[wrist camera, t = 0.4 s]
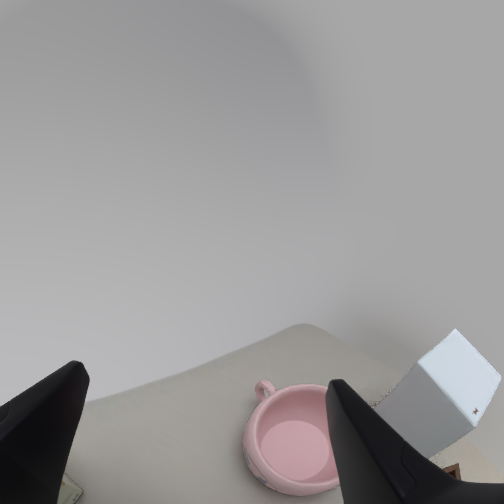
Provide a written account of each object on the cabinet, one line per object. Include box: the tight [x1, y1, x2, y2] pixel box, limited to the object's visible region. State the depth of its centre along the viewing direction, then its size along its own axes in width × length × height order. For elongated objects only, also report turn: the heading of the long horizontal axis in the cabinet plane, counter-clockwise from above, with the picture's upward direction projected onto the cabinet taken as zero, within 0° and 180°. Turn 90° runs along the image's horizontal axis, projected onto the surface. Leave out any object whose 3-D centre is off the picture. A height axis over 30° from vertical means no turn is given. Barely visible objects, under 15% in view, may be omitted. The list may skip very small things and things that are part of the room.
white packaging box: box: [373, 329, 502, 459], centre depth 17 cm, size 7×7×13 cm
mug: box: [242, 380, 340, 496], centre depth 18 cm, size 12×10×6 cm
